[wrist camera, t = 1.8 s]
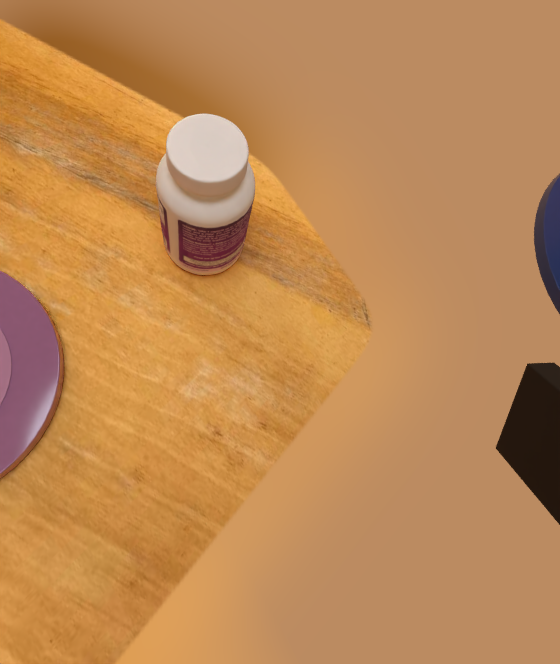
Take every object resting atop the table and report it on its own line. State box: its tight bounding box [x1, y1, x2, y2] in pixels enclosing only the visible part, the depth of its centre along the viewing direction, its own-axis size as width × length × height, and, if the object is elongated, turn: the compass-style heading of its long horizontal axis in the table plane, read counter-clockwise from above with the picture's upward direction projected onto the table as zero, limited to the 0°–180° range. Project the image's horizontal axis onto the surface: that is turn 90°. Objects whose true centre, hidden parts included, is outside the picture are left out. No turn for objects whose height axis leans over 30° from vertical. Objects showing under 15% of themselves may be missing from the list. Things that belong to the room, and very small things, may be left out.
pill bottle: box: [156, 114, 255, 275], centre depth 27 cm, size 5×5×10 cm
